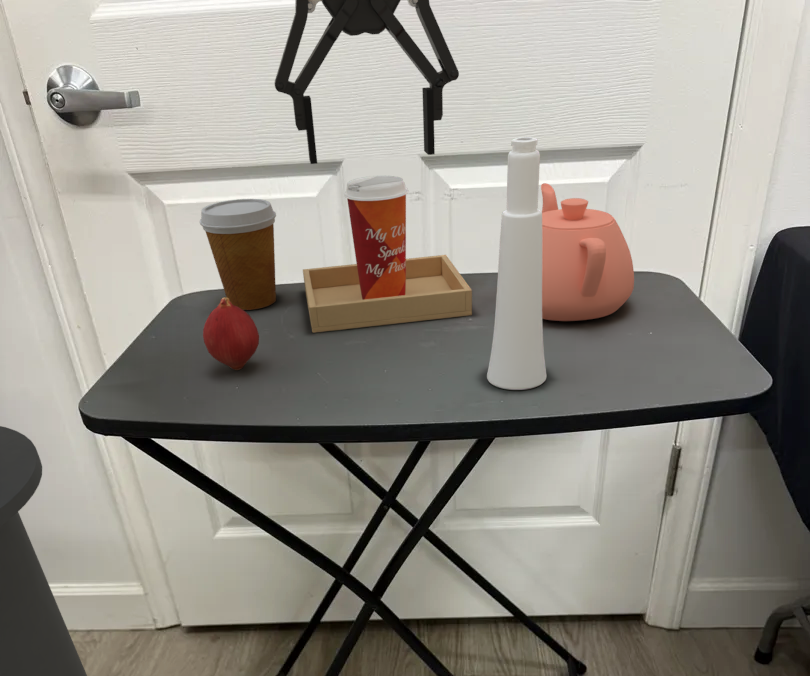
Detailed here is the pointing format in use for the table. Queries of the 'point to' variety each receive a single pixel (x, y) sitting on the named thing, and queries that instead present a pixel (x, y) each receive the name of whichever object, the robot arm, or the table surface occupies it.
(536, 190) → the cosmetic bottle
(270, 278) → the disposable coffee cup
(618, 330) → the table surface
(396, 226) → the paper cup
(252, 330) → the onion
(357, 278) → the tray
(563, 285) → the teapot
